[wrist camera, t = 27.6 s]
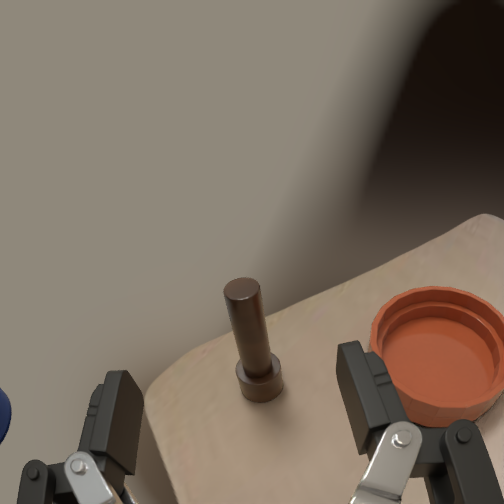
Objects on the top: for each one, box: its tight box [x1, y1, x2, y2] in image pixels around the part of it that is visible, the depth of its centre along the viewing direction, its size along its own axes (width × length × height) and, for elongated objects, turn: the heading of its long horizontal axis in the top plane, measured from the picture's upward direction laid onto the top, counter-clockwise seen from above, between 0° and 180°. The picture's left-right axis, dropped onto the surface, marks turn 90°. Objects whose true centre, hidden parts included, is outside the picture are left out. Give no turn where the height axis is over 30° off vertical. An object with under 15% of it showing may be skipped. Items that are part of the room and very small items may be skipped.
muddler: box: [223, 278, 283, 402], centre depth 26 cm, size 4×4×12 cm
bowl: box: [368, 286, 504, 427], centre depth 26 cm, size 15×15×4 cm
